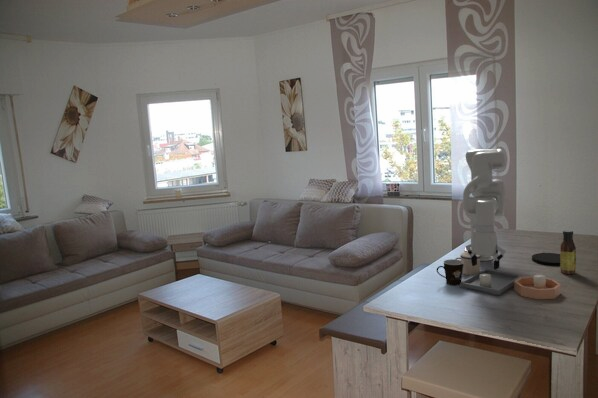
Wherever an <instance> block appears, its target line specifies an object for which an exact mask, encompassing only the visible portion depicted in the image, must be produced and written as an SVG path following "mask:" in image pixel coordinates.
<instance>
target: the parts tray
mask: <svg viewBox="0 0 598 398" xmlns="http://www.w3.org/2000/svg"><path fill="white" fill-rule="evenodd" d="M480 274H489V275H491V287H490V288H487V287H483V286H480ZM520 277H523V275H522V274H516V273H509V272H504V271H499V270H494V269H488V268H484V269H483V270H480V272H479V273H477V274H475V275H473V276H469V277H467V278H466V279H464V280H463V281H461V282H460V285H459V288H460V289H464V290H468V291H469V290H470V291H473V292H476V293H477V292H478V293H483V294H487V295H490V296H491V295H492V296H495V297H500V296H502V295H503V294H504V293H506V292H507V291H509V290H511V289H513V288H514V281H515V280H517V279H519V278H520Z"/></svg>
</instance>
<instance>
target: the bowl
mask: <svg viewBox="0 0 598 398" xmlns="http://www.w3.org/2000/svg"><path fill="white" fill-rule="evenodd" d="M513 288H514V289H513V290H514V291H515V293H517V294H519V295H520V296H521V297H525V298H531V299H535V300H550V299H551V300H552V299H557V297H559V296H560V295H561V294H562V284H561V283H560V282H558V281H556V280H554V279H552V278H548V277H546V289H536V288H534V275H532V276H522V277H520V278H519V279H517V280H515V281H514V287H513Z"/></svg>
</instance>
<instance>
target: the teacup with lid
mask: <svg viewBox="0 0 598 398" xmlns="http://www.w3.org/2000/svg"><path fill="white" fill-rule="evenodd" d="M470 249H471V248H470ZM471 250H472V249H471ZM476 256H477V265H475V266H472V263H471V256H470V254H469V253H468V251H467V252H462V253H461V254H460V256H457V257H455V258H454V260H461V261H463V262H464V263H463V272H462V275H465V276H469V277H471V276H473V275H475V274H477V273H479V272H480V271H481V261H480V257H481V256H480V255H478V254H476Z"/></svg>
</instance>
